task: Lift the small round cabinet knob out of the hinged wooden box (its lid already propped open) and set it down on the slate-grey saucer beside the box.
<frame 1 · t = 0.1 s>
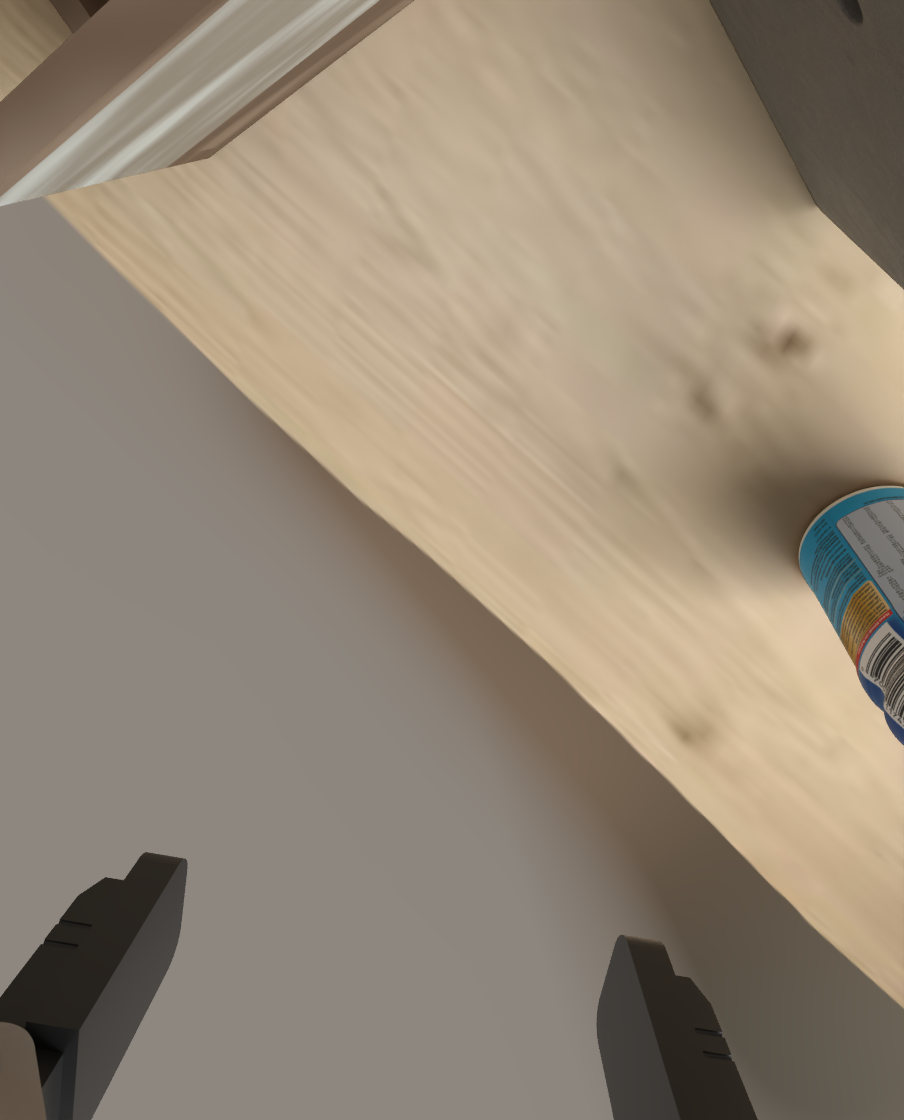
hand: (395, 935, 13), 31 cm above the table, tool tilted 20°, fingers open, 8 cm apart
beverage bottle: (865, 539, 43), on the table
planter: (844, 27, 30), on the table
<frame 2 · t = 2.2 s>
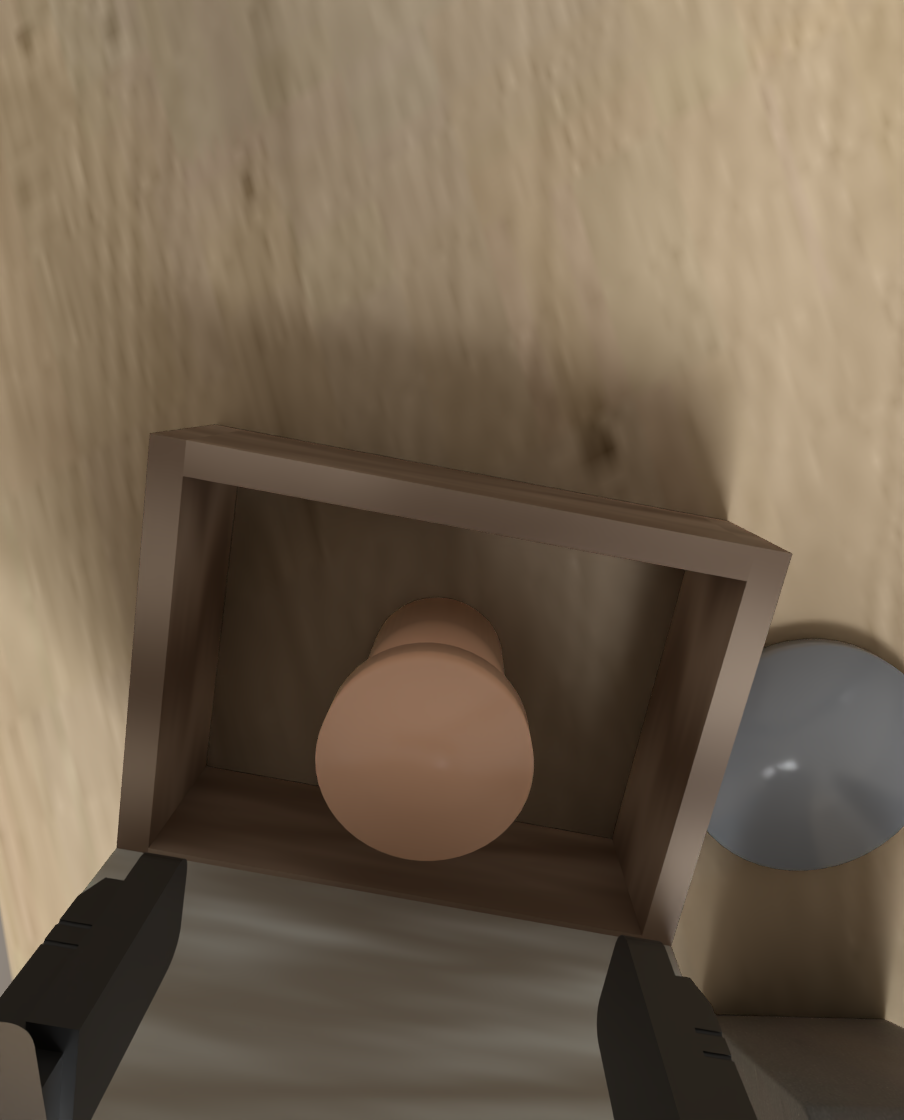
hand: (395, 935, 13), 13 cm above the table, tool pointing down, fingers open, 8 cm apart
saucer: (800, 752, 26), on the table
round cabinet knob: (431, 704, 22), in the hinged wooden box
hinged wooden box: (437, 660, 26), on the table
planter: (777, 1095, 30), on the table
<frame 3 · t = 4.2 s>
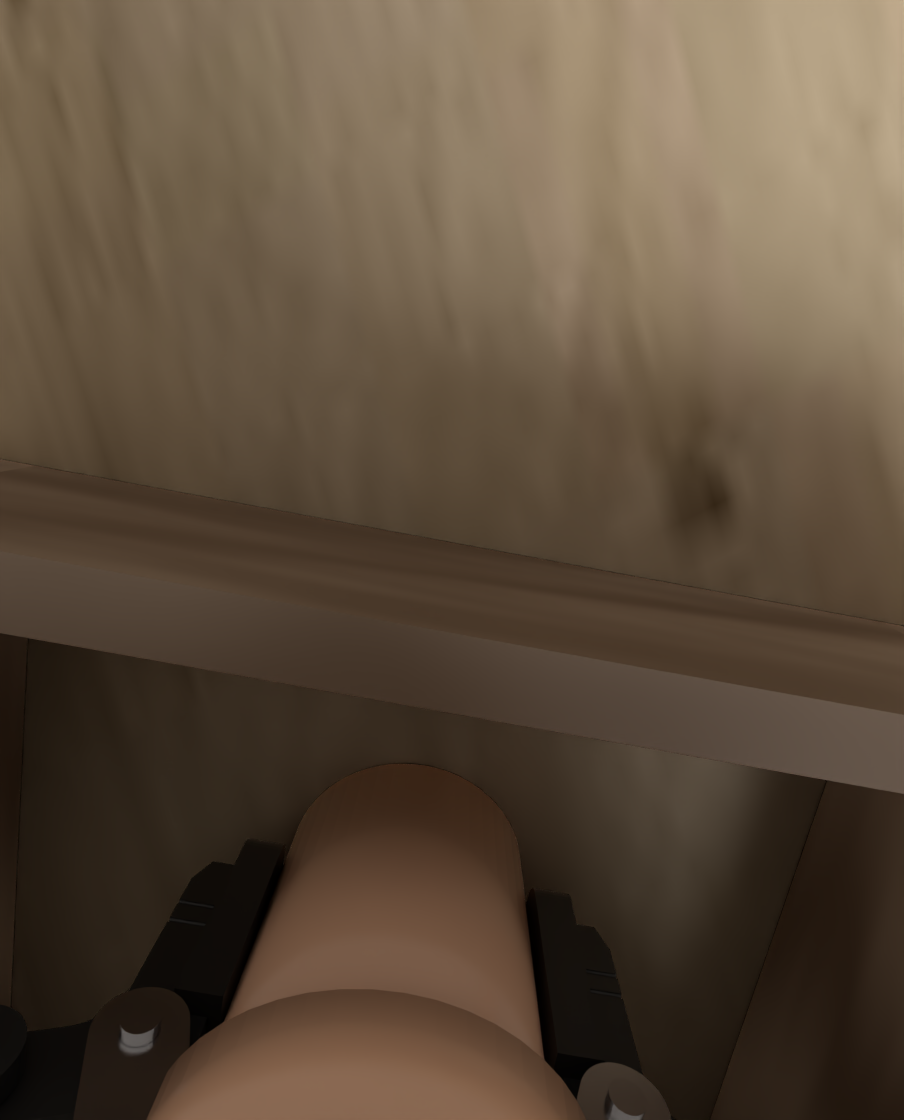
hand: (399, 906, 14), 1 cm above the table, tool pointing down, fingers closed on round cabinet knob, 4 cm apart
round cabinet knob: (386, 1024, 11), in the hinged wooden box, touching gripper
hinged wooden box: (403, 867, 15), on the table
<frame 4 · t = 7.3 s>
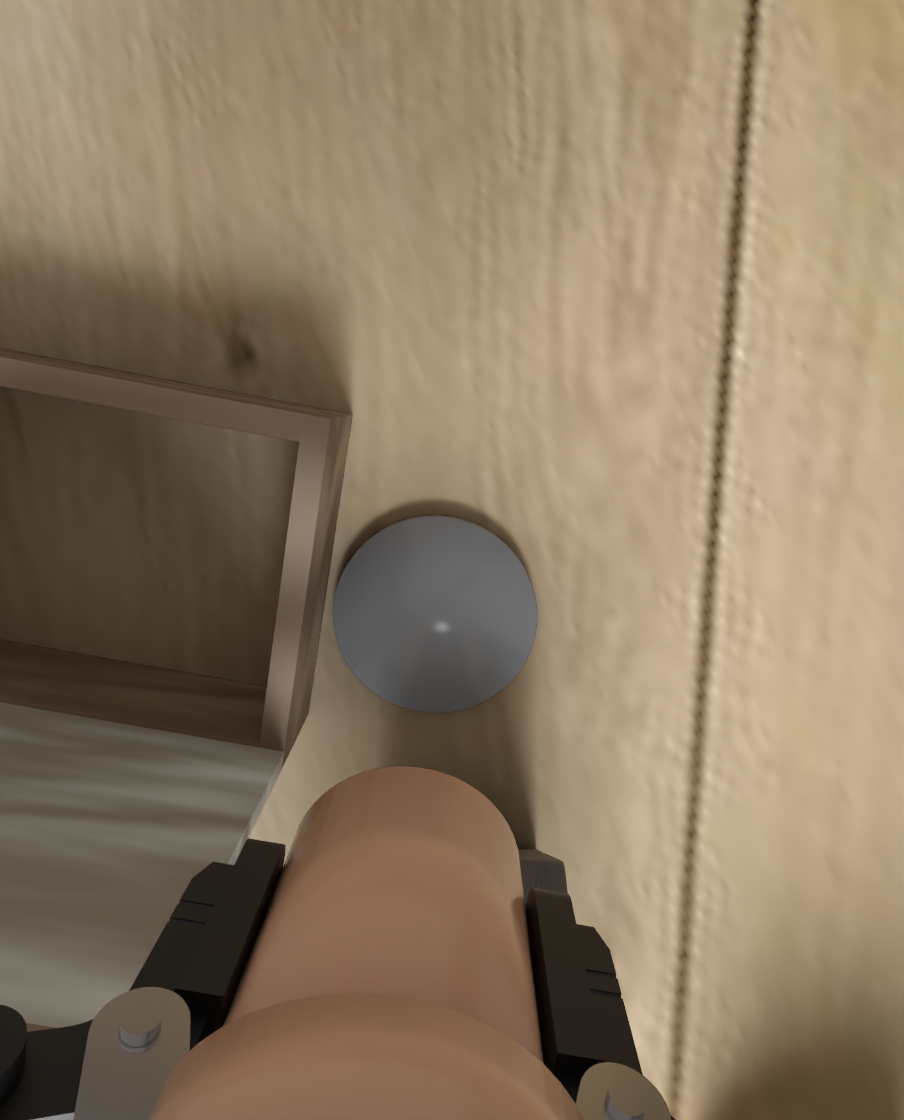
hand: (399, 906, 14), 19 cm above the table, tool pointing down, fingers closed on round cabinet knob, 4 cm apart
saucer: (435, 613, 32), on the table
round cabinet knob: (385, 1027, 11), point 21 cm above the table, touching gripper
hinged wooden box: (128, 535, 31), on the table
planter: (457, 920, 36), on the table
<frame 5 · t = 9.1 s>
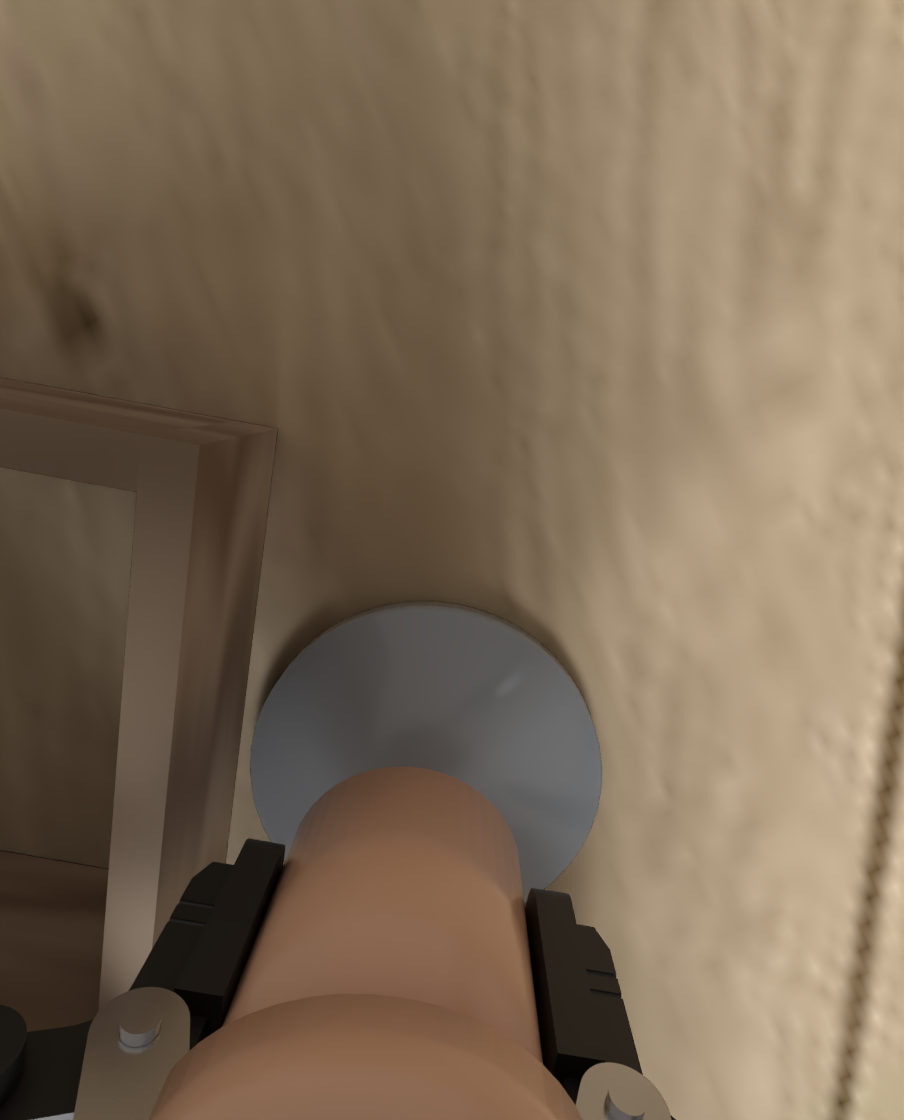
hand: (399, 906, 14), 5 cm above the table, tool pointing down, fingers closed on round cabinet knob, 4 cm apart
saucer: (426, 762, 19), on the table
round cabinet knob: (385, 1027, 11), point 8 cm above the table, touching gripper
when the fingers open (3 cm above the table, at t = 10.5 s): round cabinet knob stays where it is, resting on saucer.
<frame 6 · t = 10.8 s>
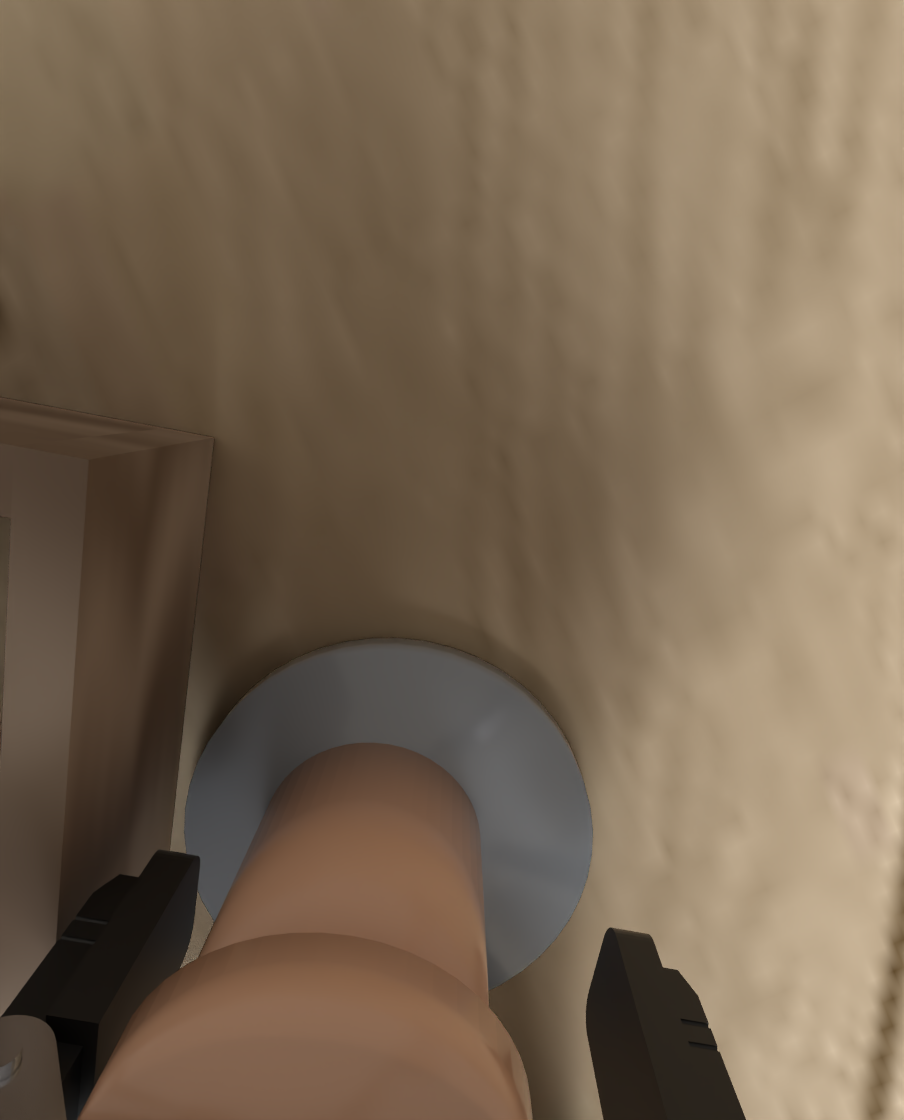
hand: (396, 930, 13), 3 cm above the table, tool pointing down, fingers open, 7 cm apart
saucer: (391, 821, 16), on the table
round cabinet knob: (345, 979, 12), on the saucer, point 4 cm above the table
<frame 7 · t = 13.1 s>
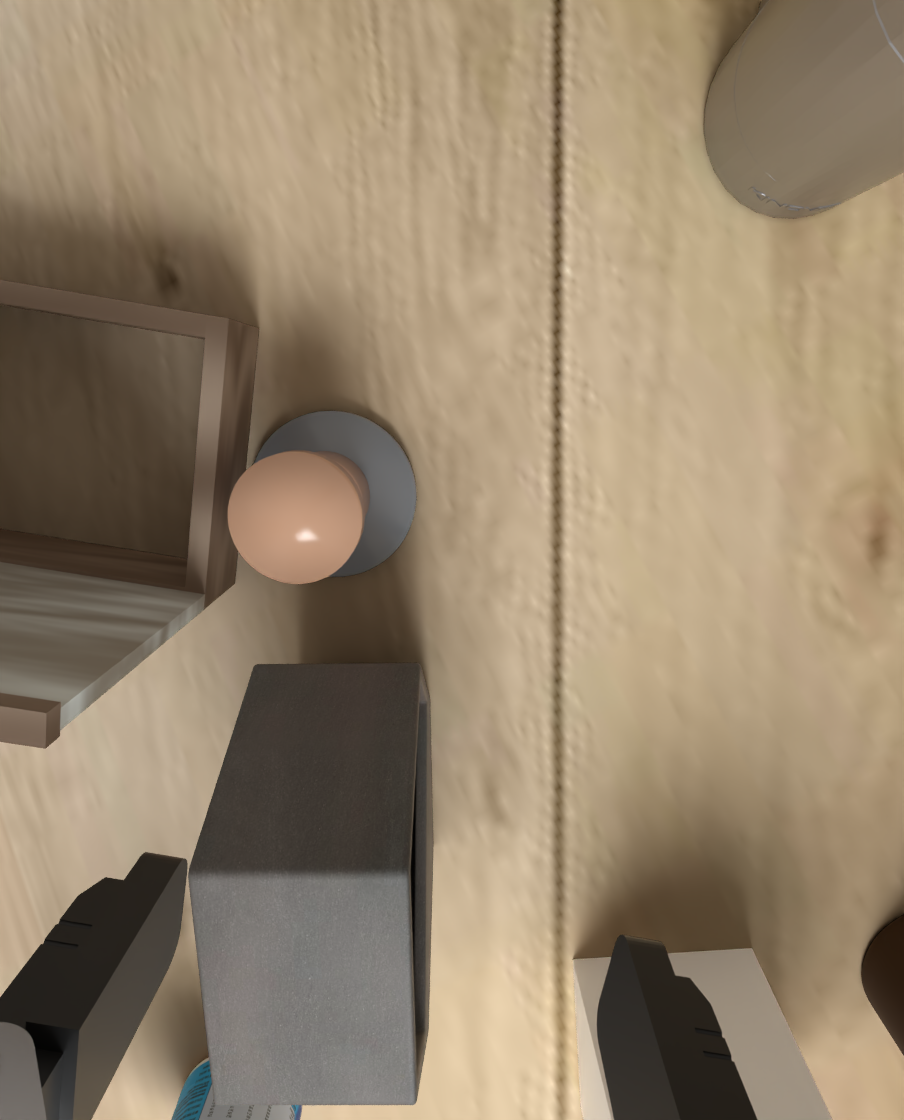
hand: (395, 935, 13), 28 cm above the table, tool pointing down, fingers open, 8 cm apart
milk: (662, 1027, 47), on the table
beverage bottle: (245, 1089, 49), on the table
saucer: (335, 494, 39), on the table
round cabinet knob: (311, 506, 34), on the saucer, point 4 cm above the table
hinged wooden box: (81, 434, 38), on the table
planter: (368, 762, 43), on the table
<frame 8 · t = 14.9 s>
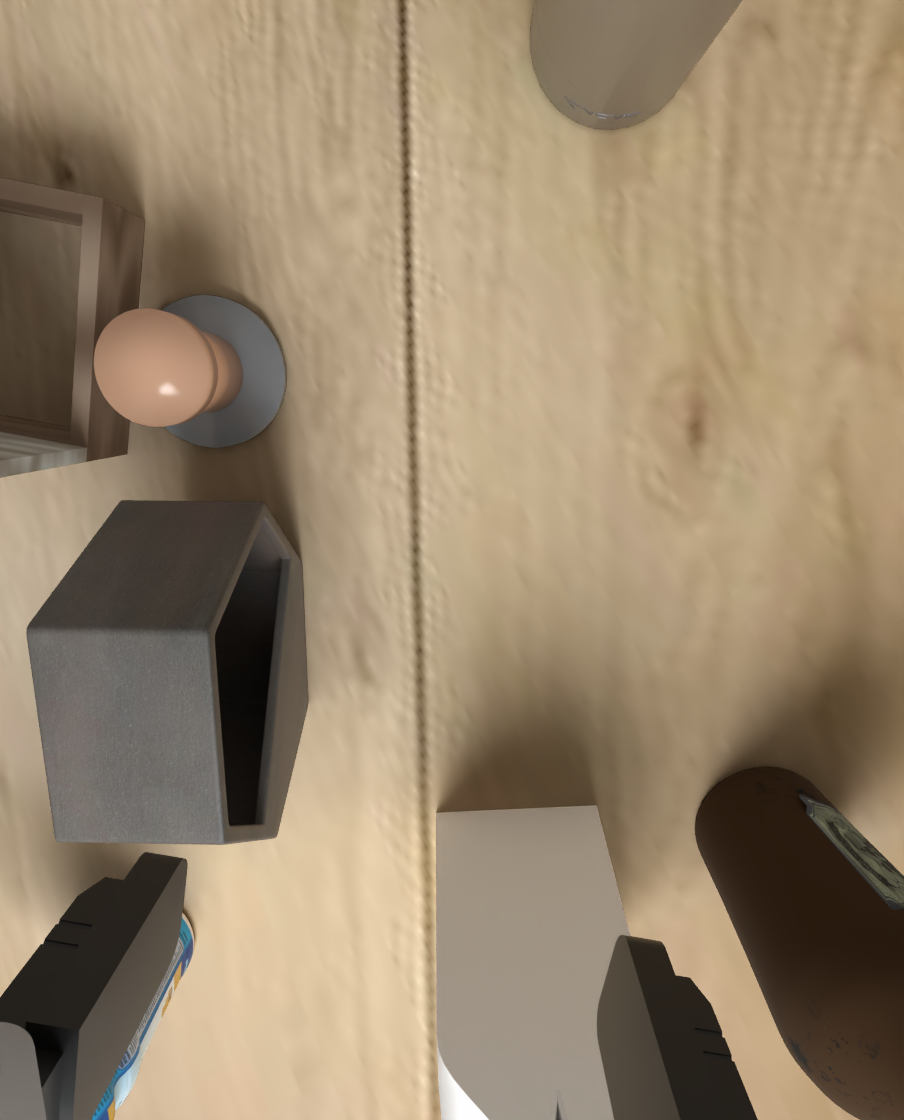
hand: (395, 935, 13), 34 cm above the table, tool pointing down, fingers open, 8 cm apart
milk: (519, 879, 52), on the table
beverage bottle: (144, 931, 54), on the table
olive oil: (760, 822, 51), on the table
saucer: (214, 373, 44), on the table
round cabinet knob: (179, 370, 39), on the saucer, point 4 cm above the table
planter: (249, 624, 48), on the table
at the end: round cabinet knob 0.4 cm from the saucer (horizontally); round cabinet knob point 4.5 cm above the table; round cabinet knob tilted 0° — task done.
